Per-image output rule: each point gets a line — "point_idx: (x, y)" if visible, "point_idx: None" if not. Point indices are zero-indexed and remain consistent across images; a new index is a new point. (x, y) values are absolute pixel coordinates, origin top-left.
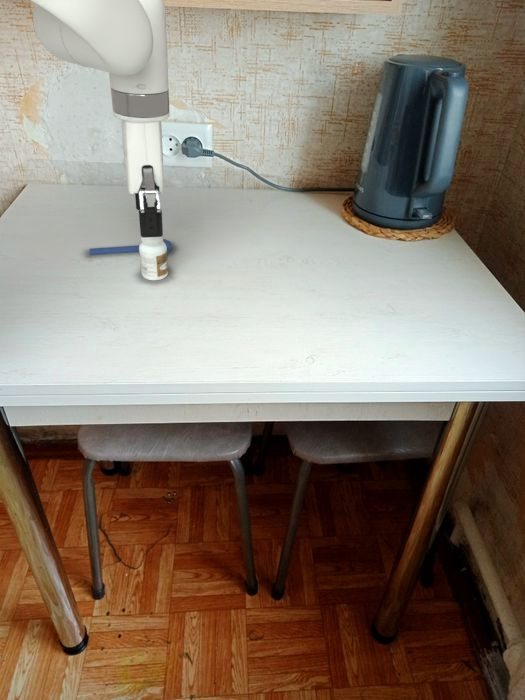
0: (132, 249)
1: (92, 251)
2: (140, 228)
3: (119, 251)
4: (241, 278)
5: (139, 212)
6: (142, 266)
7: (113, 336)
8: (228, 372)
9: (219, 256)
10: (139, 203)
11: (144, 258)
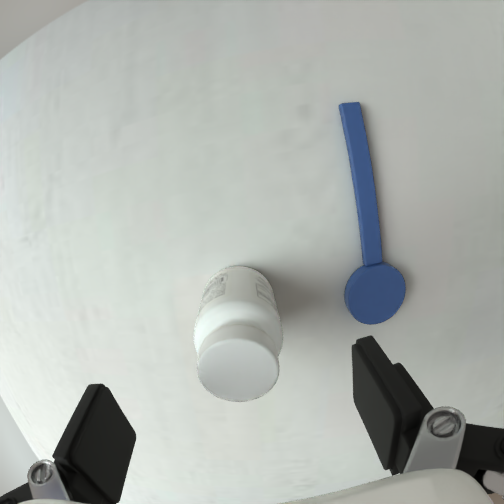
0: (361, 224)
1: (344, 111)
2: (78, 405)
3: (355, 187)
4: (236, 445)
5: (55, 455)
6: (211, 286)
7: (10, 241)
8: (9, 397)
9: (324, 411)
10: (362, 369)
11: (200, 309)
